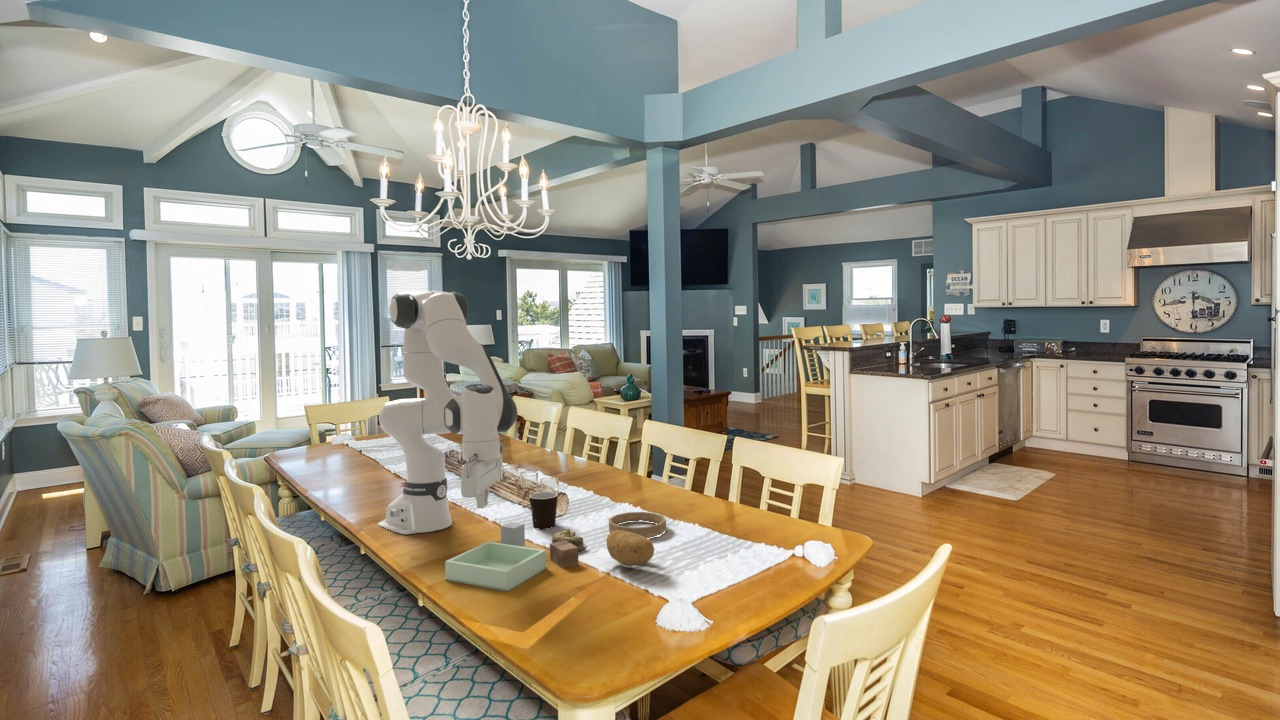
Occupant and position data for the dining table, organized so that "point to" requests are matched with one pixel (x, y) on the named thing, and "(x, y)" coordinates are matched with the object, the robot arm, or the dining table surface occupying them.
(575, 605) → the dining table surface
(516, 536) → the grey block
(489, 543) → the serving tray
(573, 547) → the walnut block
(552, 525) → the coffee mug
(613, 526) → the ring
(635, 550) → the potato
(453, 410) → the robot arm
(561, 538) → the cake
